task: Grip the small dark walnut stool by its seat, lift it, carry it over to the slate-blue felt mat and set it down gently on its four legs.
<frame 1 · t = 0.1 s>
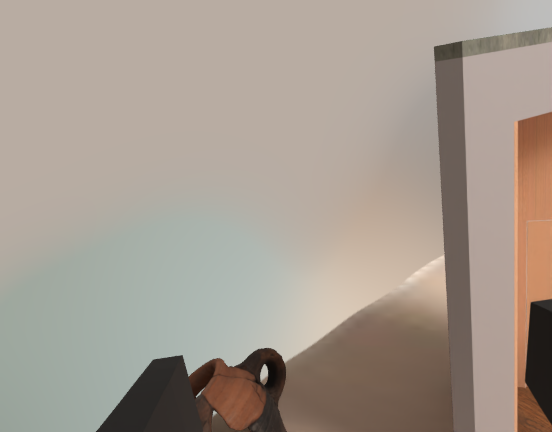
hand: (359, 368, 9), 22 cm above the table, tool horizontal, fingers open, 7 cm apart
cabinet: (518, 406, 35), on the table
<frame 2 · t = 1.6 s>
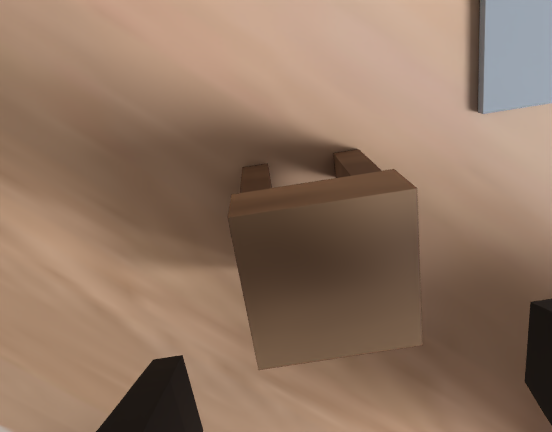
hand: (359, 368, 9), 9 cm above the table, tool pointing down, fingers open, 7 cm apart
walnut stool: (307, 212, 18), on the table
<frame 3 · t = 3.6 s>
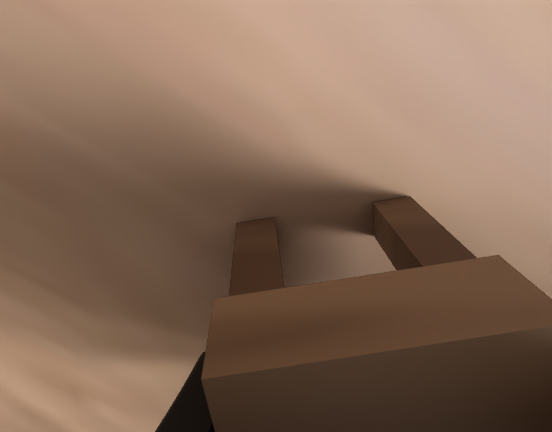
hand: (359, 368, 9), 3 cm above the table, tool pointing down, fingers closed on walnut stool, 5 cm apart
walnut stool: (331, 285, 12), on the table, touching gripper
when the fingers open (5 cm above the table, at t = 9.0 s): walnut stool drops 1 cm, resting on felt mat.
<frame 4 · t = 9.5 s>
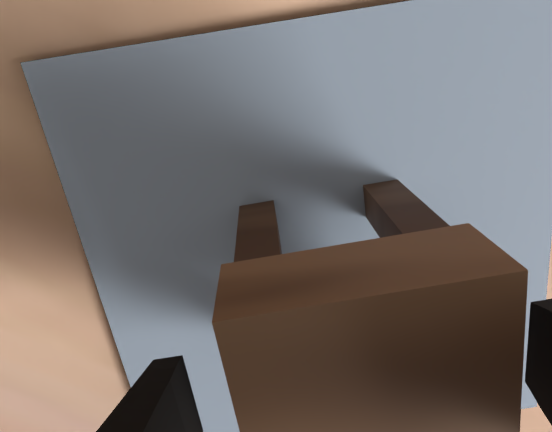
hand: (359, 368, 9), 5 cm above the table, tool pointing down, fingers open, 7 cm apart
walnut stool: (327, 263, 13), resting on felt mat
felt mat: (323, 260, 14), on the table
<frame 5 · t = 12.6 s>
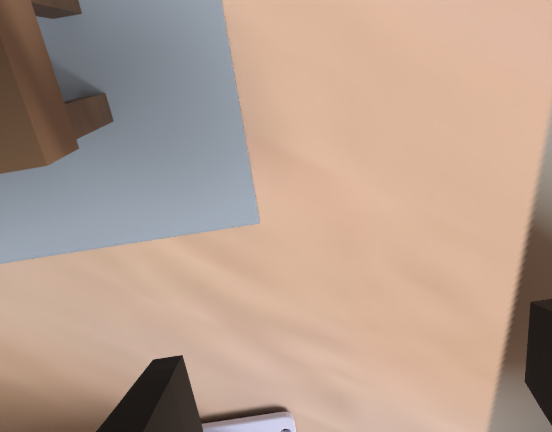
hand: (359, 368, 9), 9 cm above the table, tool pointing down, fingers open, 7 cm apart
walnut stool: (29, 66, 15), resting on felt mat
felt mat: (33, 68, 15), on the table
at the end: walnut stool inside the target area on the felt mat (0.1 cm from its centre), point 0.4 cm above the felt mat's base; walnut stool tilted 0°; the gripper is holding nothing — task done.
